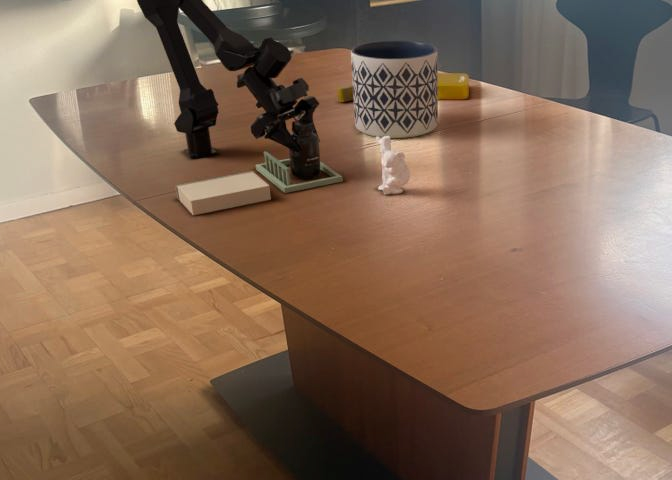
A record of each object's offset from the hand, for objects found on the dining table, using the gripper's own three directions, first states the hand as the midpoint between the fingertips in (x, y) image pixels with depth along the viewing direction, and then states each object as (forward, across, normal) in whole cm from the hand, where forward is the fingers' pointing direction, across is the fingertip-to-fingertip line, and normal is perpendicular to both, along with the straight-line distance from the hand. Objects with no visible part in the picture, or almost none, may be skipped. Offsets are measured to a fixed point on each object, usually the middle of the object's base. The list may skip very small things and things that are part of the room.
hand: (308, 147), depth 188 cm
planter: (+2, +43, +8) cm, 43 cm away
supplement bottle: (+4, 0, +6) cm, 7 cm away
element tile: (-2, +79, +12) cm, 80 cm away
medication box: (-15, +60, +26) cm, 68 cm away
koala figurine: (+20, +1, -10) cm, 22 cm away
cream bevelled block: (0, -21, +10) cm, 23 cm away
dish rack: (+3, -1, +7) cm, 8 cm away
